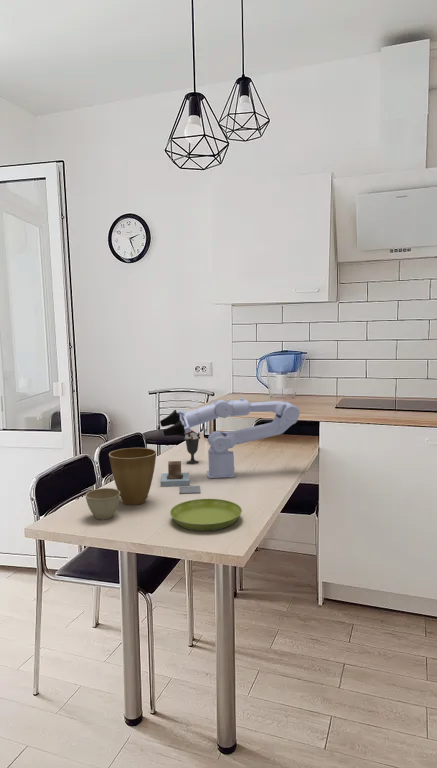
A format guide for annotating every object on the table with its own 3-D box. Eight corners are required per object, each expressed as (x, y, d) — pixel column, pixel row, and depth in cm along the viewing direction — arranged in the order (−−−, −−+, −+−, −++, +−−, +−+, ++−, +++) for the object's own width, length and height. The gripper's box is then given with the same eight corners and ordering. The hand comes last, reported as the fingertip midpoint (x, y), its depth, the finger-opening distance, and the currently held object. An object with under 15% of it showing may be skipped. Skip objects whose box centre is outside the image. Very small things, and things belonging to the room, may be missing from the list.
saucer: (189, 505, 175) (189, 495, 175) (251, 513, 168) (251, 503, 167) (157, 528, 156) (157, 517, 156) (226, 539, 149) (225, 527, 148)
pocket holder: (188, 477, 205) (188, 472, 205) (189, 485, 195) (189, 480, 195) (161, 478, 204) (161, 473, 204) (160, 486, 194) (160, 481, 194)
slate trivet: (199, 486, 193) (199, 485, 193) (200, 493, 186) (200, 492, 186) (179, 487, 193) (179, 486, 193) (179, 494, 186) (179, 492, 186)
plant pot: (167, 500, 179) (165, 451, 177) (129, 512, 169) (127, 461, 167) (138, 491, 190) (137, 444, 188) (101, 501, 179) (99, 452, 177)
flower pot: (80, 516, 166) (78, 493, 165) (108, 508, 173) (107, 486, 172) (98, 525, 159) (97, 501, 158) (127, 516, 166) (126, 493, 165)
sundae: (181, 463, 223) (180, 427, 222) (188, 459, 230) (187, 423, 228) (196, 465, 221) (195, 428, 219) (203, 461, 227) (202, 424, 225)
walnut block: (181, 479, 202) (180, 461, 201) (181, 483, 197) (181, 464, 197) (168, 480, 201) (168, 461, 201) (168, 484, 197) (168, 464, 196)
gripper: (191, 399, 208) (156, 410, 206) (199, 415, 195) (161, 428, 193) (196, 415, 211) (161, 426, 209) (204, 432, 198) (167, 445, 196)
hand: (162, 428), depth 202 cm, fingers open, 7 cm apart
